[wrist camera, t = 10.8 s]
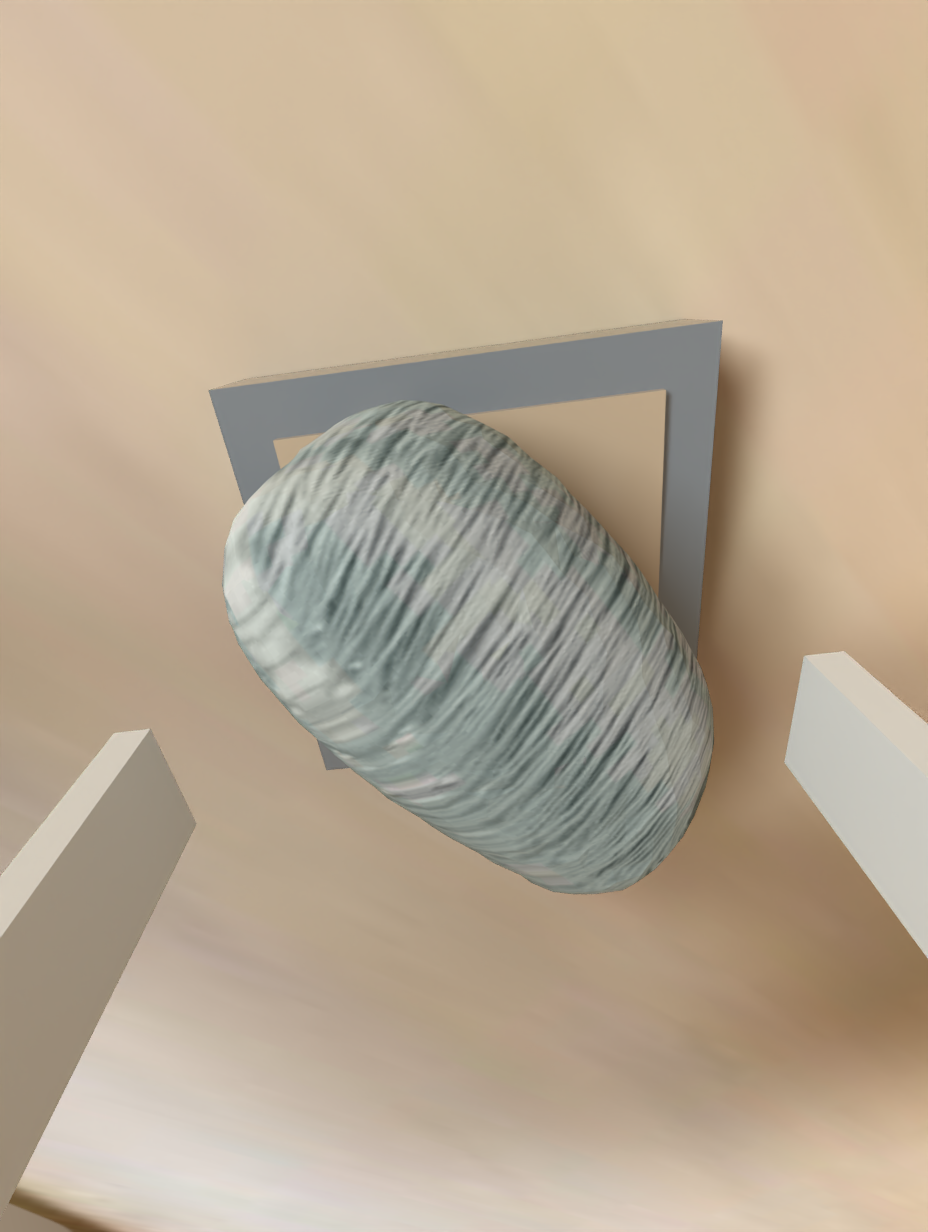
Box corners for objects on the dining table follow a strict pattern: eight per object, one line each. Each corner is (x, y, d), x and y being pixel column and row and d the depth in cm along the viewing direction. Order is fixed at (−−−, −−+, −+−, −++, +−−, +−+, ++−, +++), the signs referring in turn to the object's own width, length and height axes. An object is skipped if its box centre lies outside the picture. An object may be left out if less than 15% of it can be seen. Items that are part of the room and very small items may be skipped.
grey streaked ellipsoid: (817, 708, 16) (775, 1075, 9) (560, 758, 23) (420, 997, 16) (565, 275, 14) (261, 324, 7) (360, 465, 21) (94, 590, 14)
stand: (341, 721, 25) (324, 775, 22) (244, 379, 19) (204, 391, 16) (666, 689, 24) (693, 741, 21) (684, 319, 18) (727, 320, 15)
